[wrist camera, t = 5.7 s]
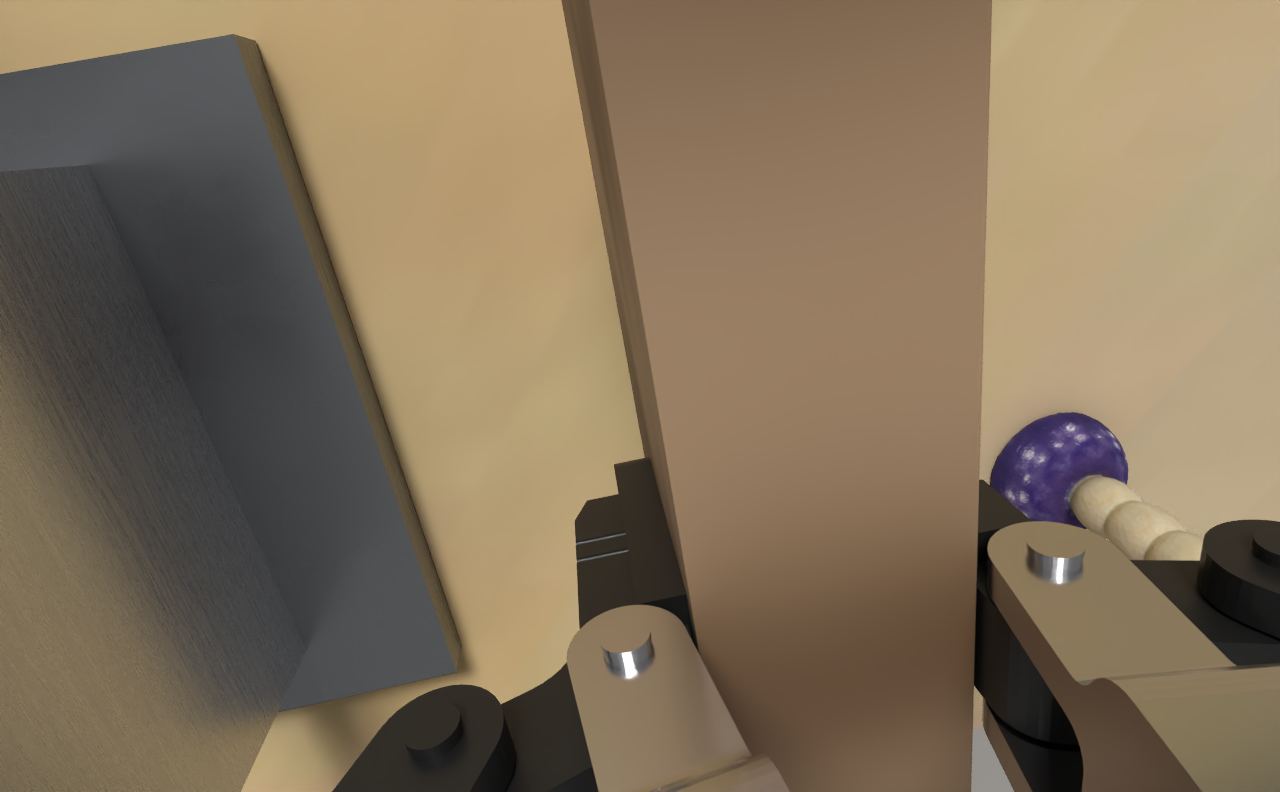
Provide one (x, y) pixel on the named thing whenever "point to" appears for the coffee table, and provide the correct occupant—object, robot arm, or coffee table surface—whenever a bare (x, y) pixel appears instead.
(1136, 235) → the coffee table surface
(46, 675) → the ridge stand
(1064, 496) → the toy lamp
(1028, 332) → the coffee table surface
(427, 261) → the coffee table surface
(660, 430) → the brown wooden plank
